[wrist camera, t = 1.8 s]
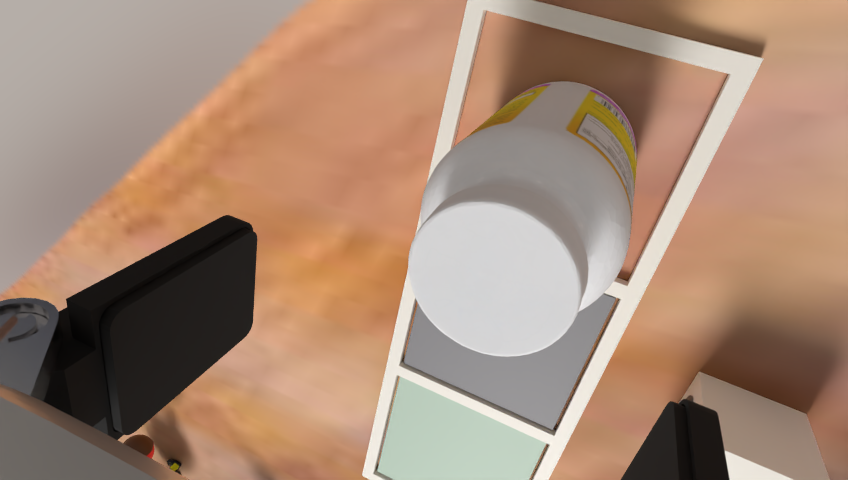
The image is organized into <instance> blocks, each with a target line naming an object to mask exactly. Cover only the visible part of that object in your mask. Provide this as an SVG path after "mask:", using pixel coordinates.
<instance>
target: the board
mask: <svg viewBox="0 0 848 480" xmlns="http://www.w3.org/2000/svg"><path fill="white" fill-rule="evenodd" d="M486 11H491V12H495V13H498V14H502V15H506V16H510V17H514V18H518V19H521V20H525V21H529V22H533V23H537V24H540V25H544V26H548V27H552V28H556V29H559V30H563V31H567V32H571V33H575V34H579V35H582V36H586V37H590V38H594V39H598V40H601V41H605V42H609V43H613V44H617V45H620V46H624V47H628V48H632V49H636V50H640V51H643V52H647V53H651V54H655V55H659V56H662V57H666V58H670V59H674V60H678V61H681V62H685V63H689V64H693V65H697V66H701V67H704V68H708V69H712V70H716V71H720V72H723V73H727V74H728V76H727V78H726V80H725V82H724V84H723V86H722V88H721V91H720V93H719V95H718V97H717V99H716V101H715V103H714V105H713V107H712V109H711V111H710V113H709V115H708V117H707V119H706V121H705V123H704V126H703V128H702V130H701V132H700V134H699V136H698V138H697V140H696V142H695V144H694V146H693V148H692V150H691V152H690V154H689V156H688V159H687V161H686V163H685V165H684V167H683V169H682V171H681V173H680V175H679V177H678V179H677V181H676V183H675V185H674V187H673V189H672V191H671V194H670V196H669V198H668V200H667V202H666V204H665V206H664V208H663V210H662V212H661V214H660V216H659V218H658V220H657V222H656V224H655V227H654V229H653V231H652V233H651V235H650V237H649V239H648V241H647V243H646V245H645V247H644V249H643V251H642V253H641V255H640V257H639V260H638V262H637V264H636V266H635V268H634V270H633V272H632V274H631V276H630V278H629V280H628V281H625V280H623V279H620V278H617V277H616V278H615V280H614V281H613V283H612V284H611V286H610V287H609V288H608V289H607V290H606V291H605V292H604V293H603V294H602V295H601V296H600V297H599V298H598V299H597V300H596V301H594V302H593V303H592V304H590V305H589V306H588V307H586V308H584V309H583V310H581V311H579V312H578V314H577V316H576V318H575V320H574V322H573V324H572V325H571V326H570V328H569V329H568V330H567V332H566V333H565V334H564V335H563V336H562V337H561V338H560V339H559V340H557V341H556V342H554V343H553V344H552V345H550V346H548V347H546V348H544V349H542V350H540V351H538V352H534V353H531V354H527V355H522V356H509V357H506V356H493V355H488V354H483V353H480V352H477V351H474V350H471V349H469V348H467V347H464V346H462V345H460V344H459V343H457V342H455V341H454V340H452V339H451V338H449V337H448V336H446V335H445V334H444V333H442V332H441V331H440V330H439V329H438V328H437V327H436V326H435V325H434V324H433V323H432V322H431V321H430V320H429V319H428V317H427V316H426V315H425V313H424V312H423V311H422V309H421V307H420V306H419V304H418V306H417V310H416V314H415V318H414V322H413V326H412V330H411V334H410V338H409V343H408V347H407V351H406V355H405V359H404V362H403V361H402V359H403V355H404V351H405V347H406V343H407V339H408V334H409V330H410V326H411V322H412V318H413V314H414V310H415V305H416V301H417V300H416V298H415V295H414V293H413V290H412V286H411V282H410V278H409V269H408V271H407V276H406V280H405V285H404V289H403V294H402V298H401V303H400V307H399V312H398V316H397V321H396V325H395V330H394V334H393V339H392V343H391V348H390V352H389V357H388V361H387V366H386V370H385V375H384V379H383V384H382V388H381V393H380V397H379V402H378V406H377V411H376V415H375V420H374V424H373V429H372V434H371V438H370V443H369V447H368V452H367V456H366V461H365V465H364V470H363V474H362V476H364V477H366V478H368V479H370V480H529V478H530V476H531V474H532V472H533V470H534V468H535V466H536V464H537V462H538V460H539V457H540V455H541V453H542V451H543V449H544V447H545V445H546V443H547V444H549V445H548V447H547V449H546V451H545V453H544V455H543V457H542V459H541V461H540V464H539V466H538V468H537V470H536V472H535V474H534V476H533V478H532V480H548V479H549V478H550V476H551V474H552V472H553V470H554V468H555V466H556V464H557V462H558V460H559V458H560V456H561V454H562V452H563V450H564V448H565V446H566V444H567V442H568V440H569V438H570V436H571V434H572V433H573V431H574V429H575V427H576V425H577V423H578V421H579V419H580V417H581V415H582V413H583V411H584V409H585V407H586V405H587V403H588V401H589V399H590V397H591V395H592V393H593V391H594V389H595V388H596V386H597V384H598V382H599V380H600V378H601V376H602V374H603V372H604V370H605V368H606V366H607V364H608V362H609V360H610V358H611V356H612V354H613V352H614V350H615V348H616V346H617V344H618V343H619V341H620V339H621V337H622V335H623V333H624V331H625V329H626V327H627V325H628V323H629V321H630V319H631V317H632V315H633V313H634V311H635V309H636V307H637V305H638V303H639V301H640V299H641V298H642V296H643V294H644V292H645V290H646V288H647V286H648V284H649V282H650V280H651V278H652V276H653V274H654V272H655V270H656V268H657V266H658V264H659V262H660V260H661V258H662V256H663V254H664V253H665V251H666V249H667V247H668V245H669V243H670V241H671V239H672V237H673V235H674V233H675V231H676V229H677V227H678V225H679V223H680V221H681V219H682V217H683V215H684V213H685V211H686V209H687V208H688V206H689V204H690V202H691V200H692V198H693V196H694V194H695V192H696V190H697V188H698V186H699V184H700V182H701V180H702V178H703V176H704V174H705V172H706V170H707V168H708V166H709V164H710V162H711V161H712V159H713V157H714V155H715V153H716V151H717V149H718V147H719V145H720V143H721V141H722V139H723V137H724V135H725V133H726V131H727V129H728V127H729V125H730V123H731V121H732V119H733V117H734V116H735V114H736V112H737V110H738V108H739V106H740V104H741V102H742V100H743V98H744V96H745V94H746V92H747V90H748V88H749V86H750V84H751V82H752V80H753V78H754V76H755V74H756V72H757V71H758V69H759V67H760V65H761V63H762V61H763V58H761V57H758V56H754V55H750V54H746V53H742V52H738V51H734V50H730V49H726V48H722V47H718V46H714V45H710V44H706V43H702V42H698V41H694V40H690V39H686V38H682V37H678V36H674V35H670V34H666V33H662V32H658V31H655V30H651V29H647V28H643V27H639V26H635V25H631V24H627V23H623V22H619V21H615V20H611V19H607V18H603V17H599V16H595V15H591V14H587V13H583V12H579V11H575V10H571V9H567V8H563V7H559V6H555V5H551V4H547V3H543V2H539V1H535V0H468V1H467V5H466V10H465V14H464V19H463V23H462V28H461V32H460V37H459V41H458V46H457V50H456V55H455V59H454V64H453V68H452V73H451V77H450V82H449V86H448V91H447V95H446V100H445V104H444V109H443V113H442V118H441V122H440V127H439V131H438V136H437V140H436V145H435V149H434V154H433V158H432V163H431V167H430V172H429V177H428V181H429V178H430V176H431V175H432V173H433V171H434V169H435V168H436V166H437V165H438V164H439V162H440V161H441V160H442V158H443V157H444V156H445V155H446V154H447V153H448V152H449V151H450V150H451V149H453V148H454V143H455V139H456V135H457V131H458V127H459V123H460V119H461V114H462V110H463V106H464V102H465V98H466V94H467V89H468V85H469V81H470V77H471V73H472V69H473V65H474V60H475V56H476V52H477V48H478V44H479V40H480V35H481V31H482V27H483V23H484V19H485V15H486ZM428 181H427V183H428ZM420 227H421V213H420V217H419V222H418V226H417V231H418V230H419V228H420ZM417 231H416V233H417ZM616 298H619V301H618V303H617V305H616V307H615V309H614V311H613V313H612V315H611V317H610V319H609V321H608V323H607V325H606V328H605V330H604V332H603V334H602V336H601V338H600V340H599V342H598V344H597V346H596V348H595V350H594V352H593V354H592V356H591V358H590V360H589V363H588V365H587V367H586V369H585V371H584V373H583V375H582V377H581V379H580V381H579V383H578V385H577V387H576V389H575V391H574V393H573V396H572V398H571V400H570V402H569V404H568V406H567V408H566V410H565V412H564V414H563V416H562V418H561V420H560V422H559V424H558V426H557V429H556V430H554V429H553V428H554V426H555V424H556V422H557V420H558V418H559V416H560V414H561V412H562V410H563V408H564V406H565V403H566V401H567V399H568V397H569V395H570V393H571V391H572V389H573V387H574V385H575V383H576V381H577V378H578V376H579V374H580V372H581V370H582V368H583V366H584V364H585V362H586V360H587V358H588V356H589V354H590V351H591V349H592V347H593V345H594V343H595V341H596V339H597V337H598V335H599V333H600V331H601V329H602V326H603V324H604V322H605V320H606V318H607V316H608V314H609V312H610V310H611V308H612V306H613V304H614V302H615V299H616ZM398 376H400V380H399V384H398V388H397V392H396V396H395V400H394V404H393V408H392V412H391V417H390V421H389V425H388V429H387V433H386V437H385V441H384V445H383V449H382V454H381V458H380V462H379V466H378V469H376V467H377V463H378V459H379V455H380V451H381V447H382V442H383V438H384V434H385V430H386V426H387V422H388V418H389V413H390V409H391V405H392V401H393V397H394V393H395V388H396V384H397V380H398Z"/></svg>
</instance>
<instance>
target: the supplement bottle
mask: <svg viewBox="0 0 848 480" xmlns="http://www.w3.org/2000/svg"><path fill="white" fill-rule="evenodd" d="M636 165H637V149H636V141H635V137H634V133H633V130H632V127H631V125H630V123H629V121H628V119H627V117H626V116H625V114H624V112H623V111H622V110H621V108H620V107H619V106H618V105H617V104H616V103H615V102H614V101H613V100H612V99H611V98H609V97H608V96H607V95H605V94H604V93H602V92H600V91H599V90H597V89H595V88H592V87H590V86H588V85H585V84H581V83H576V82H568V81H558V82H549V83H545V84H541V85H537V86H535V87H532V88H530V89H528V90H526V91H524V92H523V93H521V94H519V95H518V96H516V97H515V98H514V99H512V100H511V101H510V102H508V103H507V104H506V105H505V106H504V107H502V108H501V109H500V110H499V111H497V112H496V113H495V114H494V115H493V116H491V117H490V118H489V119H488V120H487V121H485V122H484V123H483V124H482V125H481V126H479V127H478V128H477V129H476V130H475V131H473V132H472V133H471V134H470V135H469V136H467V137H466V138H465V139H463V140H462V141H461V142H459V143H458V144H457V145H456V146H455V147H454V148H453V149H451V150H450V151H449V152H448V153H447V154H446V155H445V156H444V157H443V158H442V160H441V161H440V162H439V164H438V165H437V166H436V168H435V169H434V171H433V173H432V175H431V176H430V178H429V181H428V183H427V185H426V188H425V191H424V194H423V198H422V205H421V227H420V228H419V230H418V231H417V233H416V235H415V237H414V240H413V242H412V245H411V248H410V252H409V263H408V269H409V278H410V282H411V286H412V290H413V293H414V295H415V298H416V300H417V302H418V304H419V306H420V307H421V309H422V311H423V312H424V313H425V315H426V316H427V317H428V319H429V320H430V321H431V322H432V323H433V324H434V325H435V326H436V327H437V328H438V329H439V330H440V331H441V332H442V333H444V334H445V335H446V336H448V337H449V338H451V339H452V340H454V341H455V342H457V343H459V344H460V345H462V346H464V347H467V348H469V349H471V350H474V351H477V352H480V353H483V354H488V355H493V356H506V357H509V356H522V355H527V354H531V353H534V352H538V351H540V350H542V349H544V348H546V347H548V346H550V345H552V344H553V343H554V342H556V341H557V340H559V339H560V338H561V337H562V336H563V335H564V334H565V333H566V332H567V330H568V329H569V328H570V326H571V325H572V324H573V322H574V320H575V318H576V316H577V314H578V312H579V311H581V310H583V309H584V308H586V307H588V306H589V305H590V304H592V303H593V302H594V301H596V300H597V299H598V298H599V297H600V296H601V295H602V294H603V293H604V292H605V291H606V290H607V289H608V288H609V287H610V286H611V284H612V283H613V281H614V280H615V278H616V277H617V275H618V274H619V272H620V270H621V268H622V265H623V263H624V260H625V257H626V254H627V250H628V246H629V240H630V234H631V224H632V211H633V199H634V189H635V177H636Z"/></svg>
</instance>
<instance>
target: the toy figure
mask: <svg viewBox="0 0 848 480" xmlns="http://www.w3.org/2000/svg"><path fill="white" fill-rule="evenodd" d="M123 444H125V445H127V446H129V447H130V448H132V449H134V450H136V451H138V452H140V453H142V454H143V455H145V456H147V457H149V458H152V457H153V454H154V443H153V441H152V439H150V438H149V437H148V436H145V435H134V436H132V437H130V438H128V439H127V440H126V441H125V442H124V443H123ZM167 462H168V465H170V466H171V467H170V468H169V469H171V470H173V471H175V472H176V473H178V474H180V473H179V472H177V471H176V470H177V469H179V467H180V466H181V464H180V463H179V462H177V461H175V460H171V459H169V460H168V461H167Z"/></svg>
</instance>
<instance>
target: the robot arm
mask: <svg viewBox="0 0 848 480" xmlns="http://www.w3.org/2000/svg"><path fill="white" fill-rule="evenodd" d="M256 252H257V235H256V233H255V232H253V228H252V225H251V224H249V223H247V222H245V221H242V220H240V219H237V218H235V217H232V216H230V215H225V216H222V217H221V218H219V219H217V220H215V221H213V222H211V223H209V224H207V225H205V226H204V227H202V228H200V229H198V230H196V231H194V232H192V233H190V234H188V235H187V236H185V237H183V238H181V239H179V240H177V241H175V242H173V243H171V244H169V245H168V246H166V247H164V248H162V249H160V250H158V251H156V252H154V253H152V254H151V255H149V256H147V257H145V258H143V259H141V260H139V261H137V262H135V263H134V264H132V265H130V266H128V267H126V268H124V269H122V270H120V271H118V272H116V273H115V274H113V275H111V276H109V277H107V278H105V279H103V280H101V281H99V282H98V283H96V284H94V285H92V286H90V287H88V288H86V289H84V290H82V291H81V292H79V293H77V294H75V295H73V296H71V297H69V298H67V299H66V301H67V308H65V309H63V310H61V311H59V312H58V310H57V309H56V307H55V306H54V305H52V304H51V303H49V302H48V301H44V300H40V299H36V298H16V299H7V300H3V301H0V480H189V479H188V478H186V477H184V476H182V475H180V474H178V473H176V472H175V471H173V470H171V469H169V468H167V467H165V466H164V465H162V464H160V463H158V462H156V461H154V460H153V459H151V458H149V457H147V456H145V455H143V454H142V453H140V452H138V451H136V450H134V449H132V448H130V447H129V446H127V445H125V444H123V443H121V442H119V441H118V439H119V438H120V437H122V436H123V435H124V434H125V435H130V434H132V433H134V432H135V431H136V430H138V429H139V428H140V427H141V426H142V425H144V424H145V423H146V422H147V421H148V420H149V419H151V418H152V417H153V416H154V415H155V414H156V413H157V412H159V411H160V410H161V409H162V408H163V407H164V406H166V405H167V404H168V403H169V402H170V401H171V400H173V399H174V398H175V397H176V396H177V395H178V394H180V393H181V392H182V391H183V390H184V389H185V388H187V387H188V386H189V385H190V384H191V383H192V382H194V381H195V380H196V379H197V378H198V377H199V376H201V375H202V374H203V373H204V372H205V371H206V370H207V369H209V368H210V367H211V366H212V365H213V364H214V363H216V362H217V361H218V360H219V359H220V358H221V357H223V356H224V355H225V354H226V353H227V352H228V351H230V350H231V349H232V348H233V347H234V346H235V345H237V344H238V343H239V342H240V341H241V340H242V339H244V338H245V337H246V336H247V334H248V333H249V331H250V329H251V327H252V324H253V309H254V290H255V271H256ZM621 480H730V479H729V473H728V468H727V462H726V456H725V450H724V445H723V439H722V433H721V428H720V422H719V416H718V413H717V412H716V411H715V410H712V409H710V408H707V407H705V406H702V405H700V404H697V403H695V402H692V401H690V400H687V399H683V400H681V401H680V402H679V404H677V403H675V402H669V403H668V404H667V406H666V407H665V409H664V410H663V412H662V414H661V415H660V417H659V418H658V420H657V422H656V423H655V425H654V427H653V428H652V430H651V431H650V433H649V435H648V436H647V438H646V440H645V441H644V443H643V444H642V446H641V448H640V449H639V451H638V453H637V454H636V456H635V457H634V459H633V461H632V462H631V464H630V466H629V467H628V469H627V470H626V472H625V474H624V475H623V477H622V479H621Z"/></svg>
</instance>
